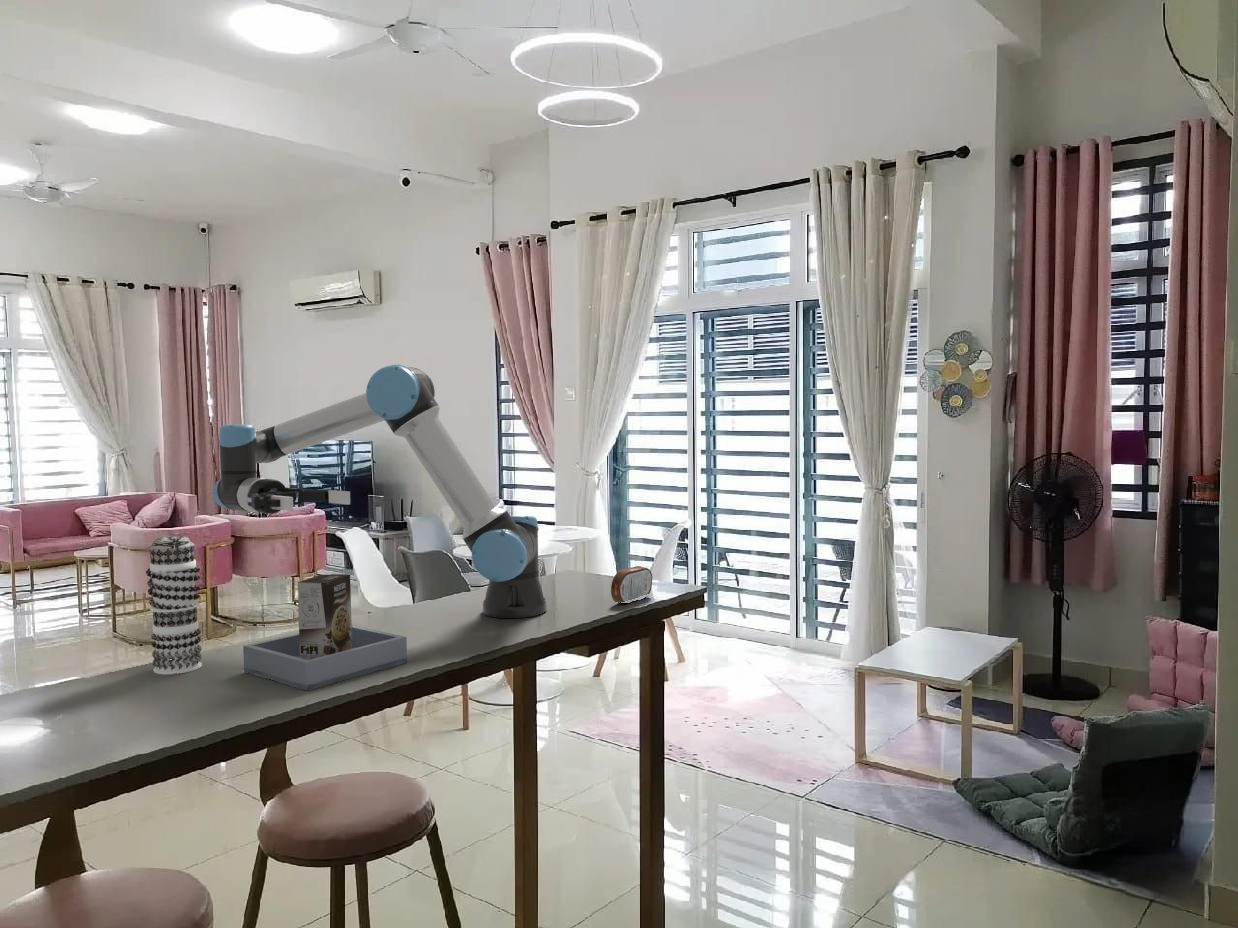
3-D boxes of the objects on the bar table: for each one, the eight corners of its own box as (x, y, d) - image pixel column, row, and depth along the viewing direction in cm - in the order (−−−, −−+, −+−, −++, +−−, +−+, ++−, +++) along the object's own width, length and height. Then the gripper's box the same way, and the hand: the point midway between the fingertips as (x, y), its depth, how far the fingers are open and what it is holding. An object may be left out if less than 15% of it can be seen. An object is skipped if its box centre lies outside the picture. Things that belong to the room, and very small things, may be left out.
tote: (343, 646, 192) (342, 622, 192) (407, 662, 180) (406, 636, 180) (244, 671, 175) (243, 645, 175) (306, 690, 163) (305, 662, 163)
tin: (644, 595, 241) (644, 563, 240) (654, 596, 239) (654, 564, 238) (609, 606, 229) (609, 571, 228) (620, 607, 227) (619, 573, 226)
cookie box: (330, 669, 173) (327, 582, 172) (298, 667, 174) (295, 581, 173) (354, 655, 182) (351, 573, 181) (323, 654, 183) (321, 572, 182)
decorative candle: (179, 676, 173) (173, 542, 171) (139, 673, 175) (133, 540, 174) (214, 663, 181) (209, 535, 180) (175, 660, 184) (170, 533, 182)
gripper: (313, 507, 216) (371, 513, 203) (209, 518, 196) (266, 525, 183) (312, 474, 215) (370, 478, 202) (208, 483, 196) (264, 487, 183)
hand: (321, 500), depth 193 cm, fingers open, 13 cm apart
